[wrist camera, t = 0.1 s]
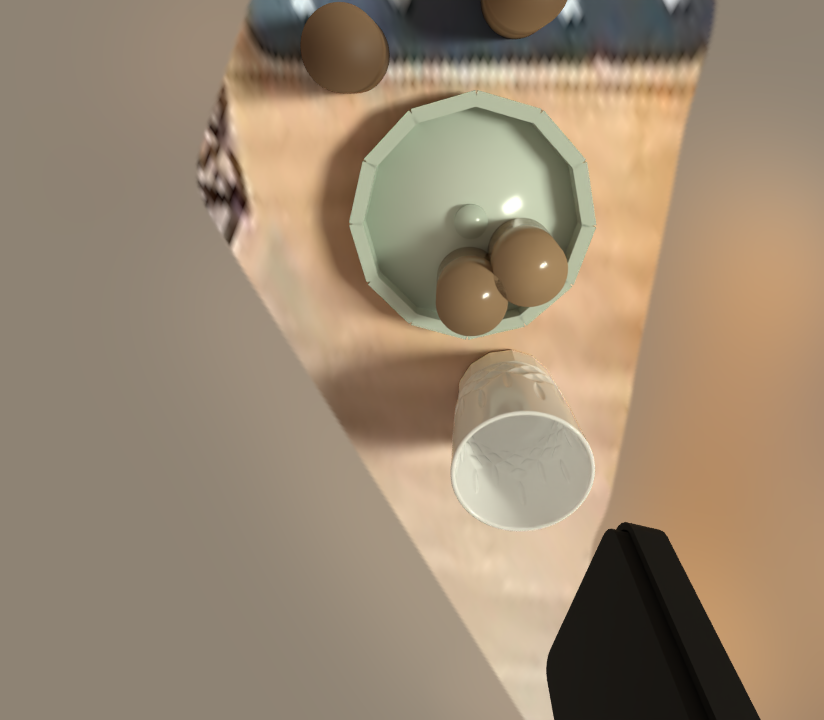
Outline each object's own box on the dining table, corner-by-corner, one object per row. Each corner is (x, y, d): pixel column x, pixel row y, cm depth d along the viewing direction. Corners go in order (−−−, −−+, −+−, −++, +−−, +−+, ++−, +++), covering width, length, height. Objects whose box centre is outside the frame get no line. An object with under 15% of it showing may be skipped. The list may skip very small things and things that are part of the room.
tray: (388, 64, 35) (377, 59, 29) (620, 133, 35) (652, 139, 30) (337, 292, 40) (320, 323, 35) (538, 346, 41) (553, 385, 35)
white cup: (426, 395, 43) (421, 476, 34) (506, 318, 40) (524, 383, 31) (505, 460, 45) (520, 554, 36) (586, 390, 42) (625, 472, 33)
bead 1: (327, 5, 34) (308, -9, 29) (397, 26, 34) (389, 15, 29) (313, 82, 35) (293, 80, 31) (380, 101, 35) (370, 102, 31)
